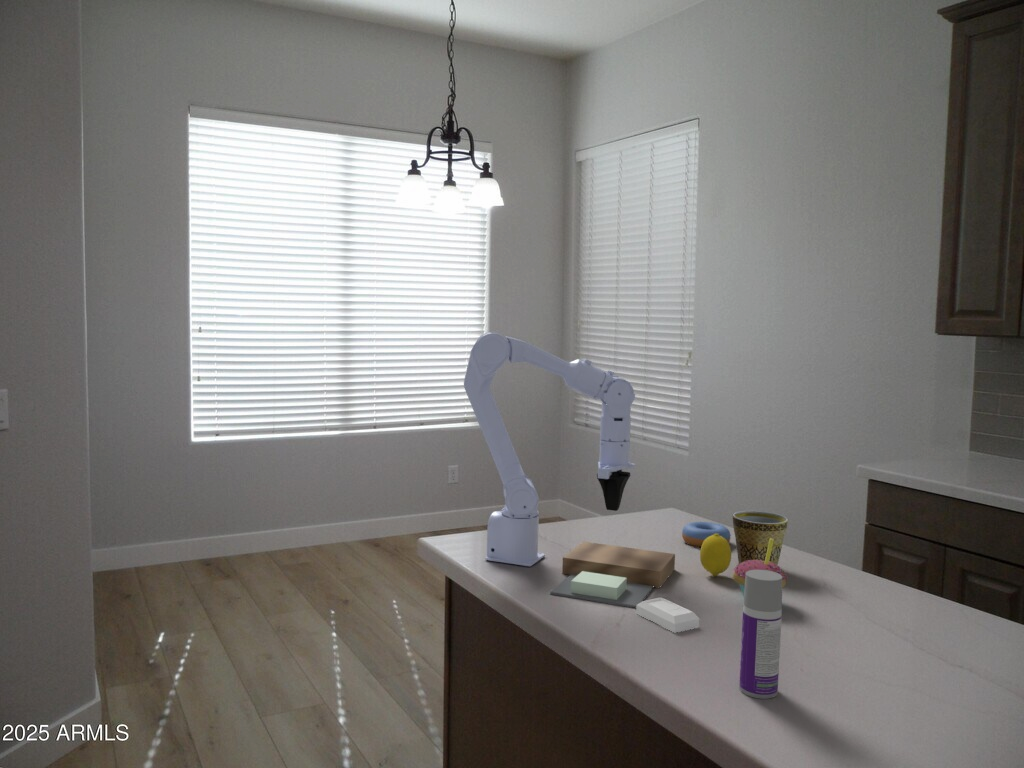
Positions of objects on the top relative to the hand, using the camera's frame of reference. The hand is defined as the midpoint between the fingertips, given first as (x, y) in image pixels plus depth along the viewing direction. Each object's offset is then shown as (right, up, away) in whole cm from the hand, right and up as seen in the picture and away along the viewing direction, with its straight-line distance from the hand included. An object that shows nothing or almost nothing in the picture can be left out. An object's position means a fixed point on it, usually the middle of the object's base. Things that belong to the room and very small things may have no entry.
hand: (612, 509), depth 159 cm
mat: (-4, -11, -18) cm, 21 cm away
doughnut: (+21, -10, +15) cm, 28 cm away
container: (+12, -15, -54) cm, 58 cm away
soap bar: (+5, -13, -31) cm, 34 cm away
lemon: (+18, -11, -8) cm, 22 cm away
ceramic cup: (+27, -11, -1) cm, 29 cm away
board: (0, -11, -7) cm, 12 cm away
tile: (-5, -9, -19) cm, 21 cm away
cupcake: (+22, -12, -22) cm, 33 cm away
